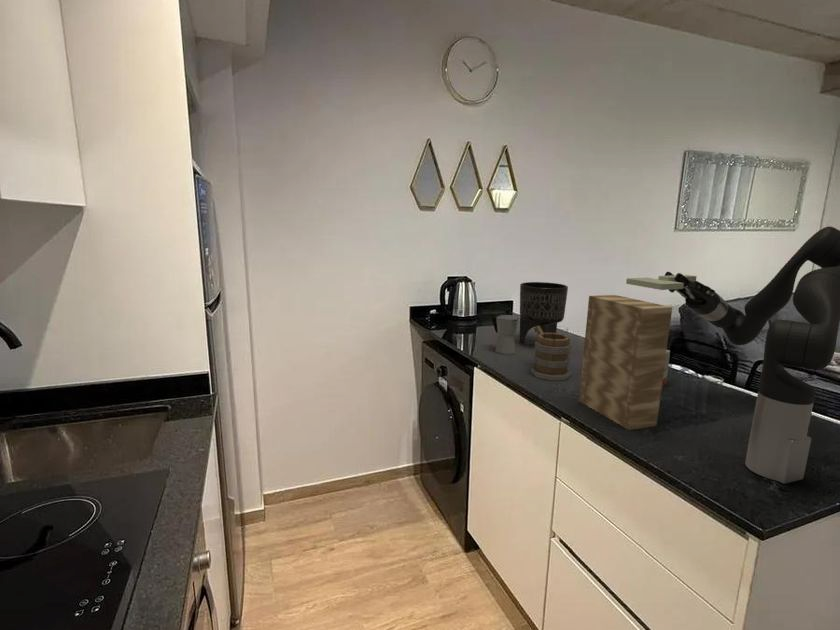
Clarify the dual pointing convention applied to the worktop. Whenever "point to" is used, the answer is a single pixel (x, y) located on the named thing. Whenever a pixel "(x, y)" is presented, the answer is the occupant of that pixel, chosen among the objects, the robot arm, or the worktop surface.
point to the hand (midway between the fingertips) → (671, 275)
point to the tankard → (551, 356)
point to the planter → (541, 306)
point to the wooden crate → (625, 359)
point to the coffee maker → (505, 332)
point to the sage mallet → (659, 282)
